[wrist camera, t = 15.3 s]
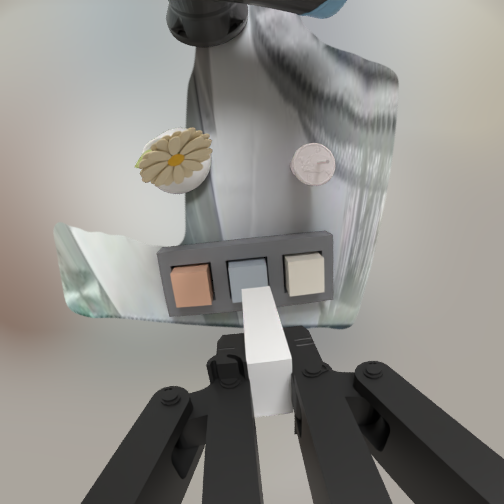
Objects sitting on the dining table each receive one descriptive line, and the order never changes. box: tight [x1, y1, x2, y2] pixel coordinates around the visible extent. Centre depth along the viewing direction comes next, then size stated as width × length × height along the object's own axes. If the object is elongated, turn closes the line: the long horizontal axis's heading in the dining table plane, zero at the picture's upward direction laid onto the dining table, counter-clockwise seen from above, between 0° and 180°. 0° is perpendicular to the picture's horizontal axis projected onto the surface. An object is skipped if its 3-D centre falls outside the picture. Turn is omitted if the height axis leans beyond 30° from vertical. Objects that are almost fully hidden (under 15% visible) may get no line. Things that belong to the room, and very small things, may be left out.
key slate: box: [228, 257, 268, 303], centre depth 49 cm, size 6×6×5 cm
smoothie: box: [290, 143, 335, 186], centre depth 42 cm, size 6×6×14 cm
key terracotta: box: [170, 262, 214, 308], centre depth 49 cm, size 6×6×5 cm
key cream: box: [283, 251, 324, 297], centre depth 49 cm, size 6×6×5 cm
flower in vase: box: [135, 128, 212, 194], centre depth 35 cm, size 13×11×25 cm
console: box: [157, 231, 333, 317], centre depth 51 cm, size 12×30×4 cm, turn 95°
